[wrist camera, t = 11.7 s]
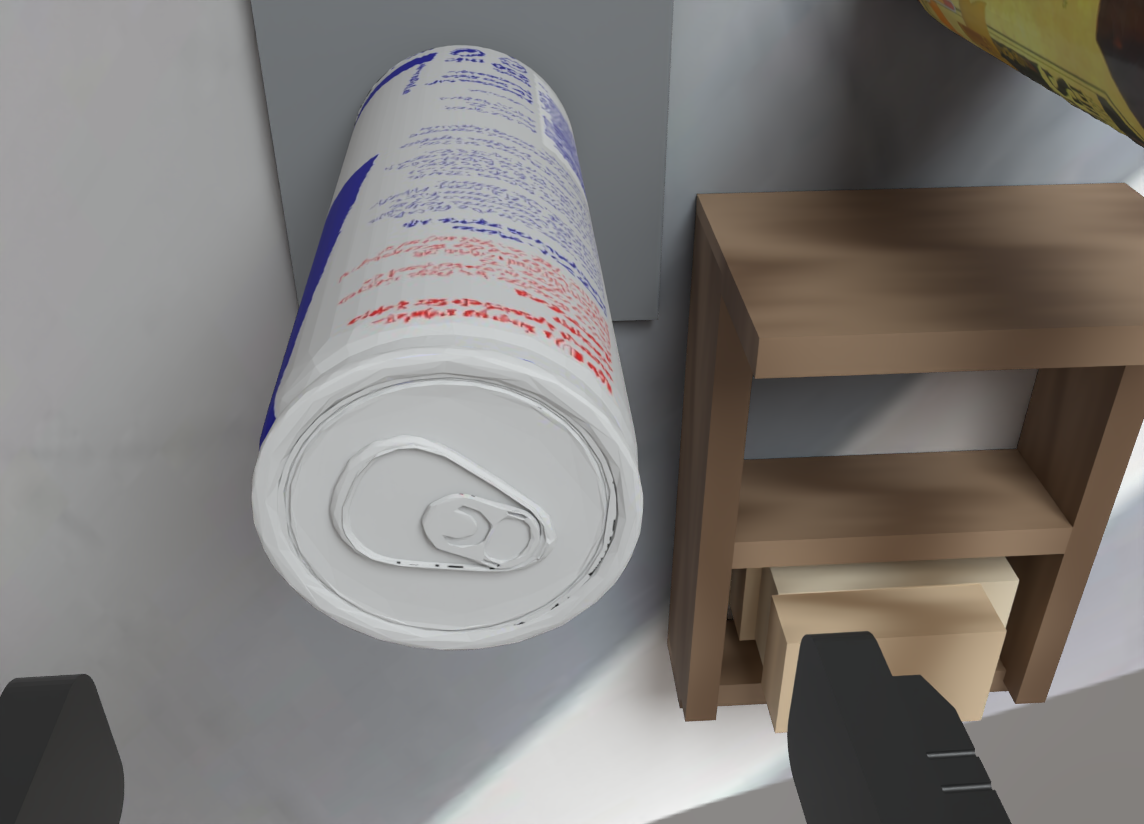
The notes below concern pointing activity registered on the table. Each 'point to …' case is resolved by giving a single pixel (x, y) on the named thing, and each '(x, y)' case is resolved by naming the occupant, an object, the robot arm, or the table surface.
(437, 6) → the rubber mat
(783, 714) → the offcut stack
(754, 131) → the table surface
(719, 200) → the tray
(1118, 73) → the sauce bottle
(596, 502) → the beverage can
